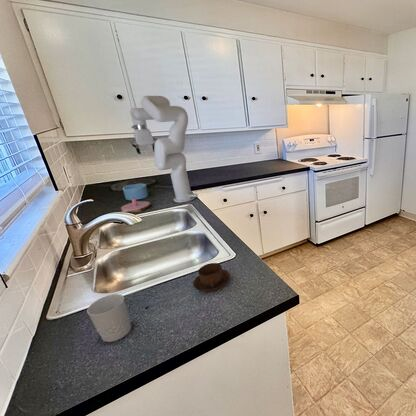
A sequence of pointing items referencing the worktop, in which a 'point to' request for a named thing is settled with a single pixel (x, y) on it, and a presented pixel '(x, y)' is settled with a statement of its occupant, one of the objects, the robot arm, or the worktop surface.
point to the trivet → (136, 210)
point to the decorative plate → (132, 183)
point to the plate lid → (135, 205)
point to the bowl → (135, 191)
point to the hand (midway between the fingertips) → (147, 152)
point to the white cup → (110, 317)
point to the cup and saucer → (211, 277)
